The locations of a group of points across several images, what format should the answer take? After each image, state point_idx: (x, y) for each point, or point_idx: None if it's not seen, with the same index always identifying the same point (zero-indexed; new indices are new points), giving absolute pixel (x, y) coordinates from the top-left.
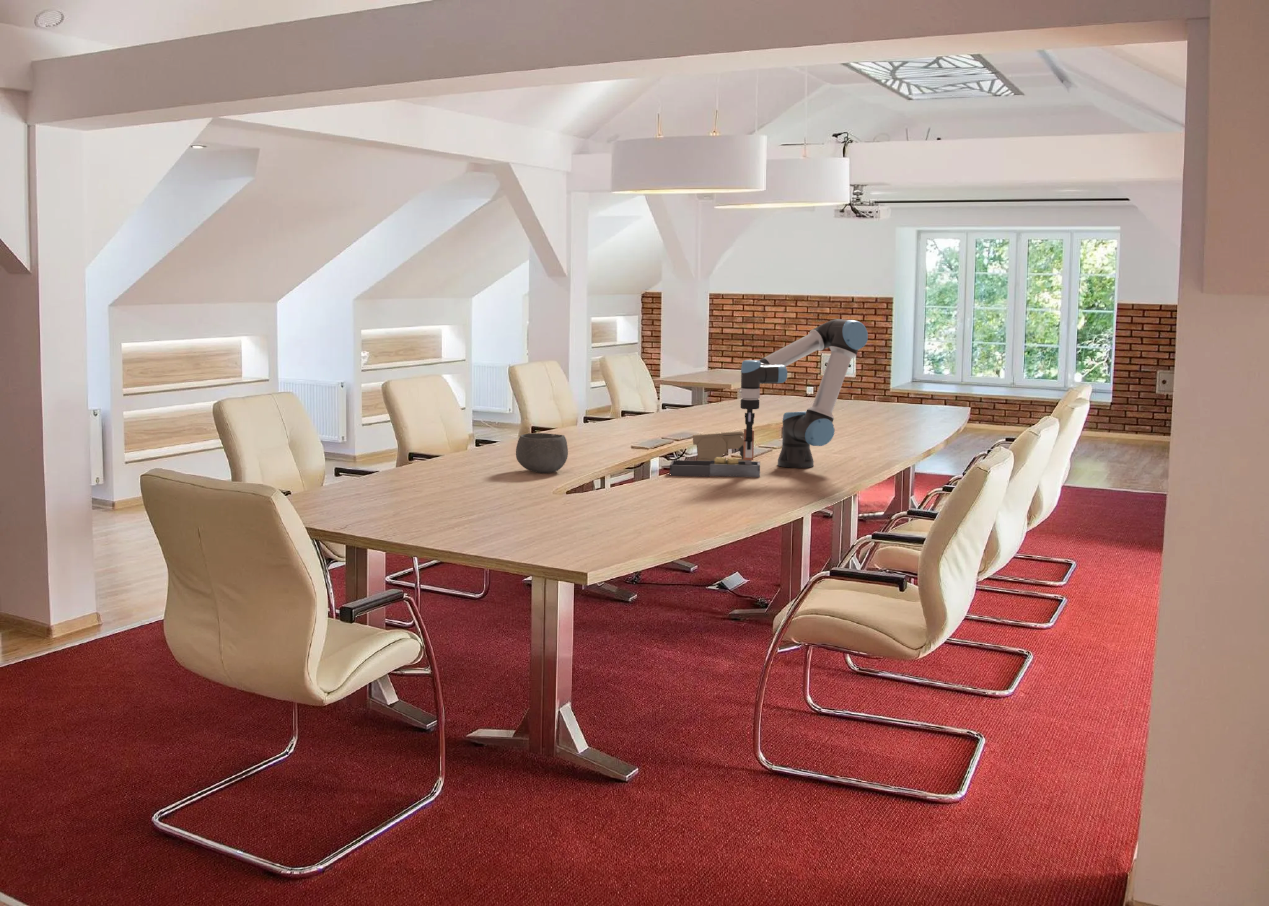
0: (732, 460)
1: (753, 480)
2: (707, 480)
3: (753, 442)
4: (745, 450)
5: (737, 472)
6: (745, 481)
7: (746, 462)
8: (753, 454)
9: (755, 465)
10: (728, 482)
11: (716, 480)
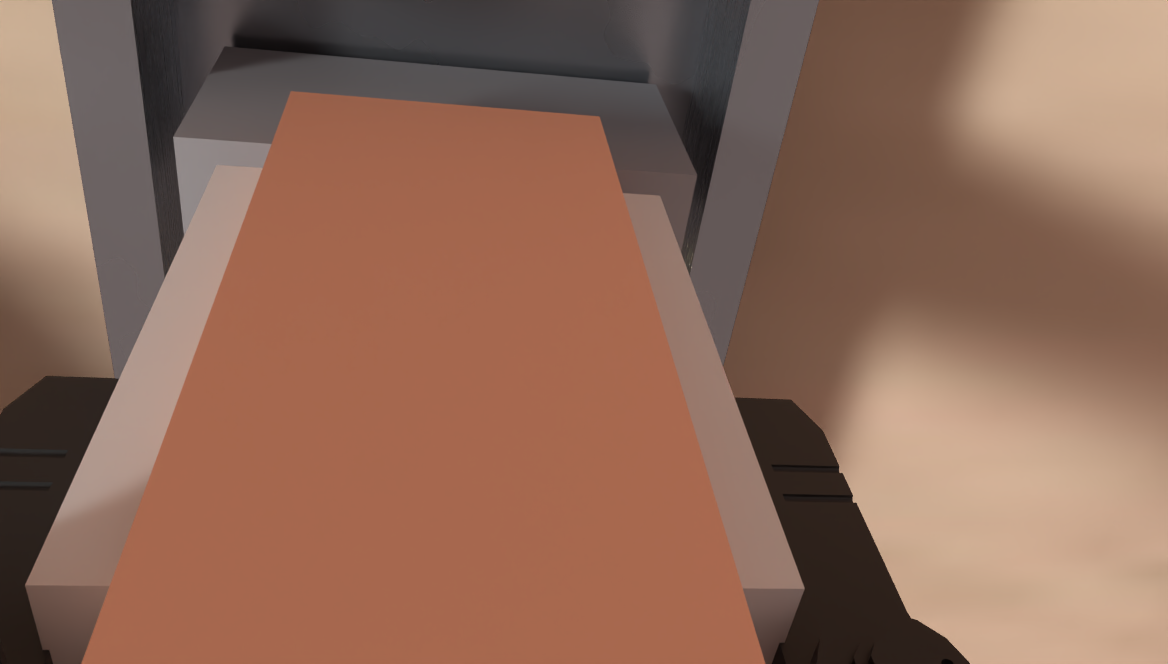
0: None
1: (1109, 26)
2: (942, 612)
3: (707, 503)
4: None
5: None
6: (1163, 175)
7: None
8: (561, 186)
9: (809, 33)
10: (1161, 406)
11: (965, 532)
